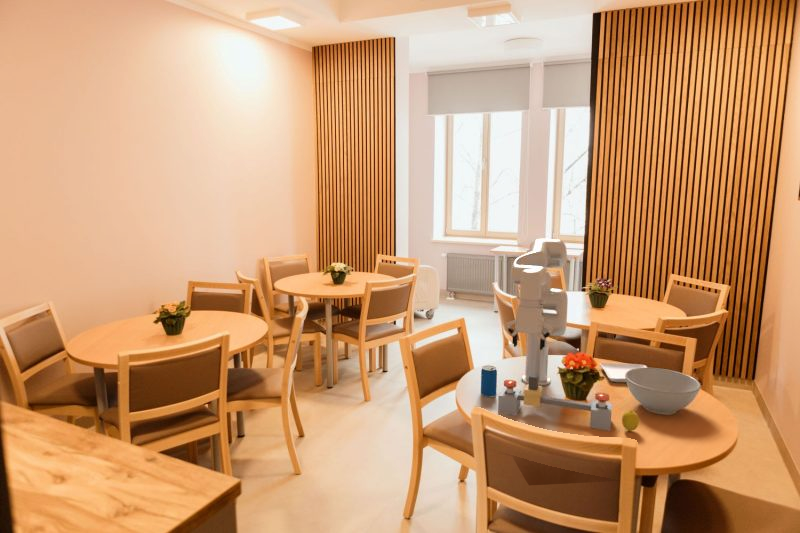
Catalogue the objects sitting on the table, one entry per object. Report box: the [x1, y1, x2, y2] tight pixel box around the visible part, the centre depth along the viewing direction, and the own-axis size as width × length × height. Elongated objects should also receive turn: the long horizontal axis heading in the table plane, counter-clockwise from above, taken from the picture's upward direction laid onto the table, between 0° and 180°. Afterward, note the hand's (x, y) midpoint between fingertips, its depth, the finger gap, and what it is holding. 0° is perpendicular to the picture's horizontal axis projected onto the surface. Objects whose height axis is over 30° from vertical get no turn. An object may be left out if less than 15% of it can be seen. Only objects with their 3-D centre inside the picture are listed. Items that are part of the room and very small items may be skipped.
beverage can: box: [480, 365, 498, 398], centre depth 228 cm, size 6×6×12 cm
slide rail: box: [497, 386, 613, 432], centre depth 208 cm, size 9×41×7 cm, turn 67°
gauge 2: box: [594, 392, 610, 409], centre depth 201 cm, size 5×5×7 cm
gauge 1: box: [503, 379, 517, 395], centre depth 214 cm, size 5×5×7 cm
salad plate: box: [599, 362, 648, 383], centre depth 250 cm, size 21×21×3 cm
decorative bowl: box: [625, 367, 701, 416], centre depth 215 cm, size 27×27×12 cm
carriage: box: [523, 374, 543, 408], centre depth 210 cm, size 6×6×11 cm
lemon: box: [621, 409, 640, 432], centre depth 196 cm, size 6×6×8 cm
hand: (528, 347), depth 204 cm, fingers open, 9 cm apart
